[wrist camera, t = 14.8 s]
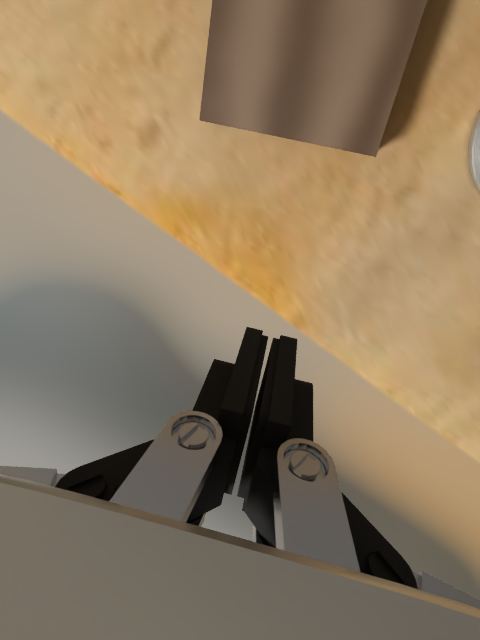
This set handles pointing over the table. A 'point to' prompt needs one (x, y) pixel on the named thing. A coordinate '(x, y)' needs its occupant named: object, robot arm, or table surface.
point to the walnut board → (308, 67)
